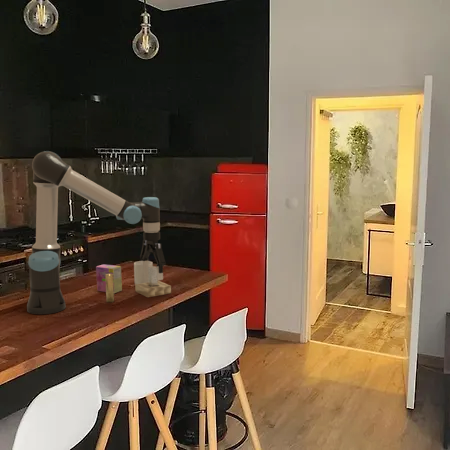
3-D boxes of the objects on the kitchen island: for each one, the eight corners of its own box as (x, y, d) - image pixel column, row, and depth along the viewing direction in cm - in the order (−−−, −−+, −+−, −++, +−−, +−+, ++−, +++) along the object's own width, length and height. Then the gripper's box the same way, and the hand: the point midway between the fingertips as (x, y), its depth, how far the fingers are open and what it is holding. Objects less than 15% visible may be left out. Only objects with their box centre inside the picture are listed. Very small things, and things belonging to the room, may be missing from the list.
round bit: (108, 302, 229) (107, 275, 227) (105, 301, 231) (104, 274, 230) (115, 301, 231) (114, 274, 229) (112, 300, 233) (111, 273, 232)
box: (96, 291, 249) (95, 266, 247) (104, 288, 254) (103, 263, 252) (114, 293, 244) (113, 268, 242) (122, 290, 249) (121, 266, 247)
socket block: (147, 297, 237) (147, 289, 237) (135, 291, 247) (135, 284, 246) (171, 293, 244) (170, 285, 244) (158, 287, 254) (158, 280, 253)
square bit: (152, 293, 243) (151, 268, 242) (148, 292, 246) (148, 266, 244) (157, 292, 245) (157, 267, 243) (154, 291, 247) (154, 266, 246)
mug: (149, 287, 254) (148, 265, 252) (131, 287, 256) (131, 264, 254) (157, 281, 265) (157, 260, 264) (140, 281, 267) (140, 259, 266)
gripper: (172, 233, 234) (173, 281, 237) (146, 227, 254) (147, 271, 257) (157, 235, 229) (158, 283, 232) (132, 229, 249) (133, 273, 252)
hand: (152, 277), depth 244 cm, fingers open, 13 cm apart
